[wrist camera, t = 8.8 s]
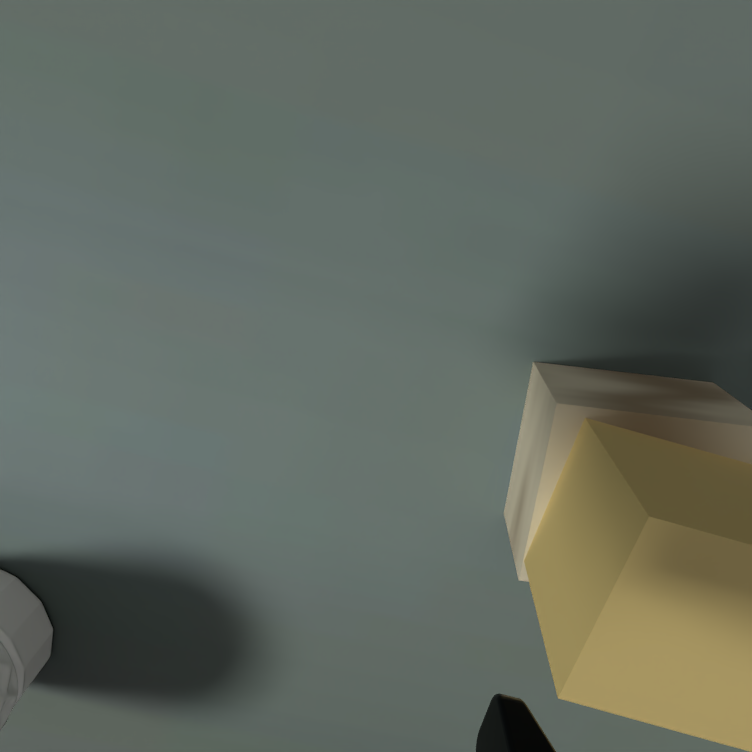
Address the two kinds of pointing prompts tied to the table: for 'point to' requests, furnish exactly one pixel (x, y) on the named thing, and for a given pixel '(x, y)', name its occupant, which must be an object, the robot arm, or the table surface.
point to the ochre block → (649, 583)
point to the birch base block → (615, 407)
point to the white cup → (20, 641)
